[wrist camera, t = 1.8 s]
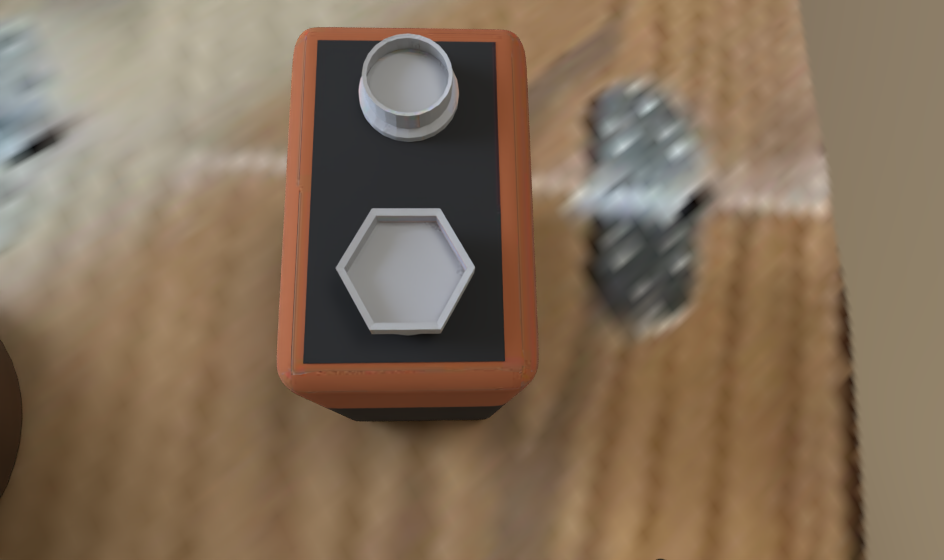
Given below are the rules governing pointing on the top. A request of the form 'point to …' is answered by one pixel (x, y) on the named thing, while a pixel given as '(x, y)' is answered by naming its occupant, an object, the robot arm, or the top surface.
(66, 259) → the top surface
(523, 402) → the top surface
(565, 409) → the top surface
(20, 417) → the teal dome on base
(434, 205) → the battery
